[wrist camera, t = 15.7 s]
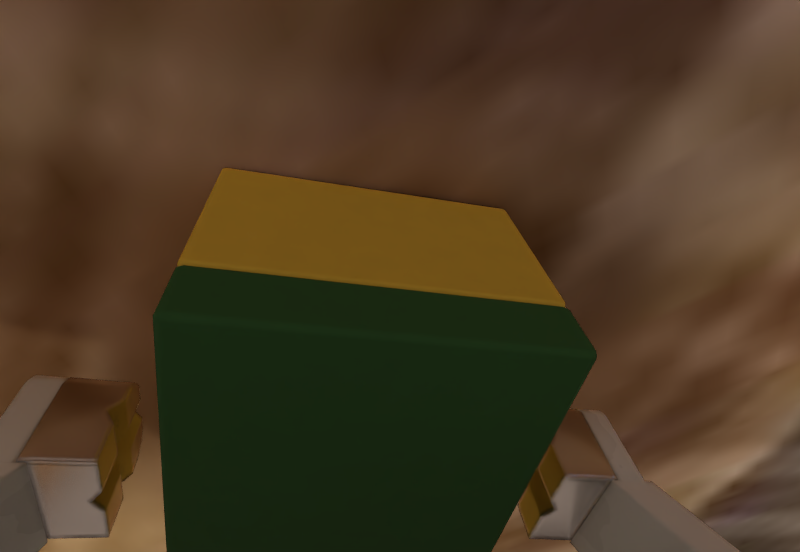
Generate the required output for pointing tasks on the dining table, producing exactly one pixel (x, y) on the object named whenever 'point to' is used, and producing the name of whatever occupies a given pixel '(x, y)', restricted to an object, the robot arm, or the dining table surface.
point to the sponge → (355, 371)
